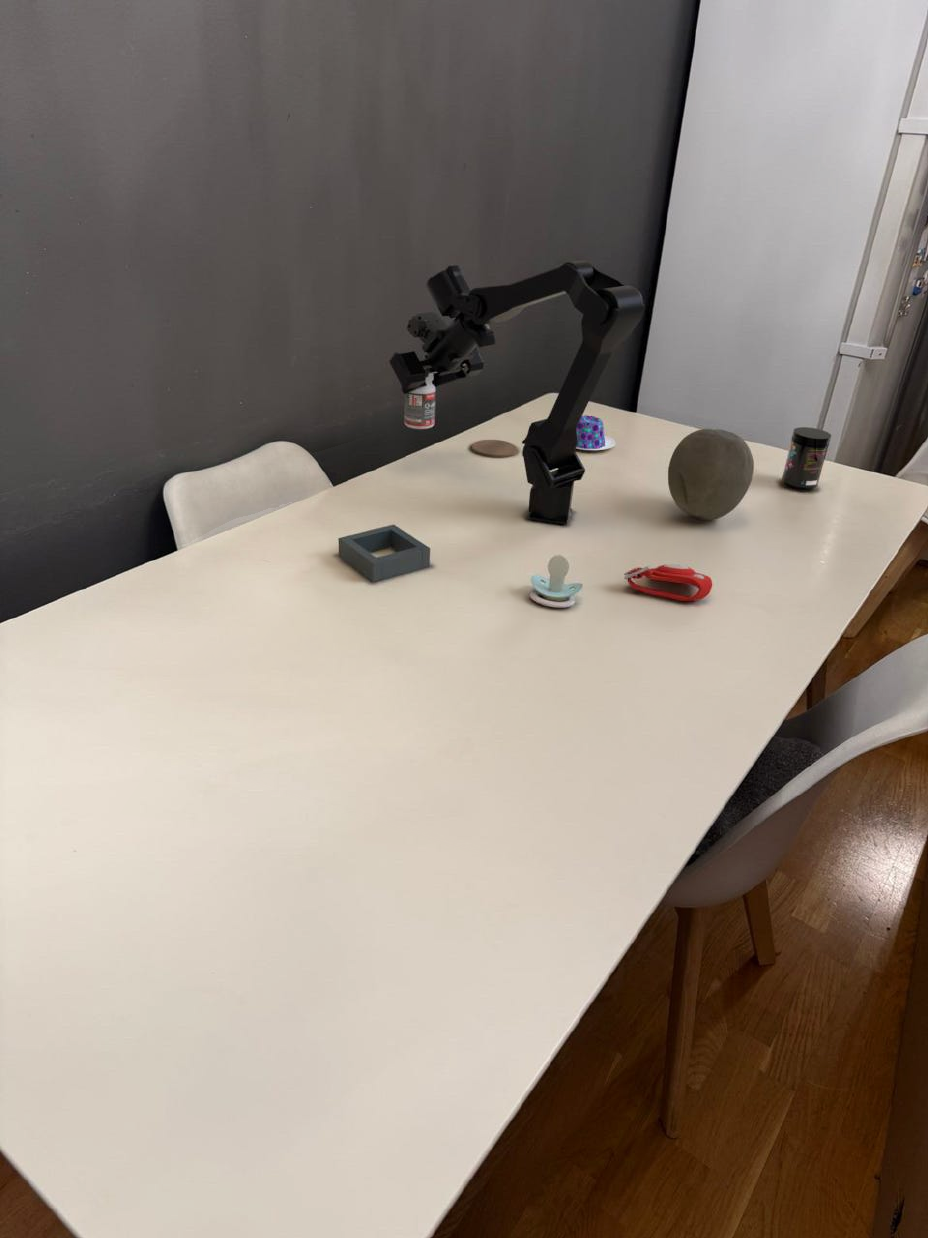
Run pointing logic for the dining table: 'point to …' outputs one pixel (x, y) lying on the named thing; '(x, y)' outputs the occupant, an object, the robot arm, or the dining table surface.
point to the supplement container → (805, 458)
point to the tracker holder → (672, 580)
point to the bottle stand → (376, 569)
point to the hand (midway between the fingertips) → (415, 388)
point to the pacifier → (555, 585)
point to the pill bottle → (421, 406)
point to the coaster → (494, 448)
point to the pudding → (592, 434)
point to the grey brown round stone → (710, 473)
